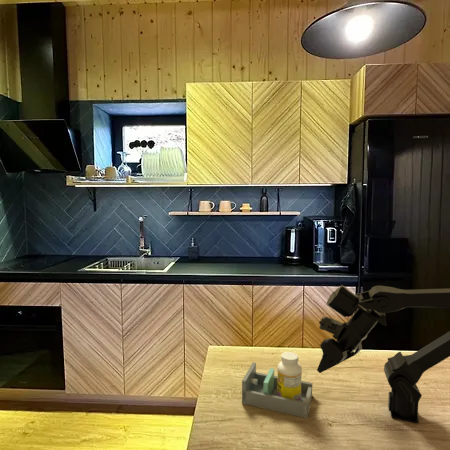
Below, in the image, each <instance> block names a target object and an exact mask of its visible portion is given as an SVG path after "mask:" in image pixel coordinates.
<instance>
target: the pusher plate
mask: <svg viewBox="0 0 450 450" xmlns="http://www.w3.org/2000/svg"><path fill="white" fill-rule="evenodd" d="M266 374H267V376H266V378H265V381H264V384H263V393H265V394H270V395H271V393H272V390H273V388H274V376H275V368H272V367H270V368H269V370H268V373H266Z"/></svg>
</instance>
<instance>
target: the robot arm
mask: <svg viewBox="0 0 450 450" xmlns="http://www.w3.org/2000/svg"><path fill="white" fill-rule="evenodd" d="M326 305H327V307H330V308H331V309H332V310H334V311H335V312H337V313H338V314H340V315H341V316H342V317H345V318H346V317H347V318H349V317H350V318H349V320H348V321H345V322H341V321H339V320H337V319H333V318H332V317H328V316H322V317H321V320H320V321H319V322H318V323H319V326H318V327H319V329H320V330H321V331H325V332H328V333H330V334H332V337H329V338H326V339H323V340H322V342H321V343H320V344H319V346H320V350H322V351H321V352H322V356H321V359H320V361H319V363H318V366H317V369H316V371H317V372H318V373H319V374H321V373H323V372H325V371H327V370H330V369H331V368H333V367H335V366H337V365H339V364H342V363H343V362H344V361H346V360H348V359H350V358H352V357H354V356H356V355H357V354H359V353H360V352H361V350H362V349H363V346H362V341H363V340H366V338H367V337H368V334H369V333H370V332H371V330H372V329H373V328H375V326H376V325H377V323H380V324H381V325H382V326H384V327H386V326H387V325H388V324H387V321H386V317H387V315H386V314H388V313H394V312H398V311H401V310H403V309H407V308H424V307H426V308H427V307H429V308H430V307H431V308H432V307H436V308H437V307H438V308H439V307H450V287H449V288H425V289H423V288H422V289H400V288H397V287H393V286H385V285H375V286H372V287H371V289H369V290H367V291H363V292H359V293H353V292H352V291H350V290H349V289H348V288H347V287H346V286H345V285H344V284H341V285H340V286H339V287H338V288H336V289H335V290H334V291H333V292H331V294H330V295H329V297H328V299H327V301H326ZM449 358H450V330H449V331H448V332H445V334H442V335H441V336H440V337H438V338H436V339H435V340H434V341H432V342H430V343H428V344H426V345H425V346H423V347H422V348H420V349H419V350H417V351H415V352H413V353H412V354H407V355H403V353H402V352H401V351H399V352H397V353H396V354H394V355H393V356H391V357H388V358H387V361H386V362H385V363H384V365H383V367H384V368H383V371H384V375H385V378H386V380H387V382H388V385H389V387H390V388H391V389H390V391H389V392H388V399H387V407H388V412H390V416H391V417H390V418H393V419H397V420H401V421H405V422H410V423H417V424H419V422H420V420H419V416H418V415H419V402H420V400H421V398H422V394H421V391H420V389H419V387H418V385H417V384H418V382H419V381H420V379H421V378H422V376H423V374H424V373H425V372H427V371H428V370H430V369H432V368H433V367H435V366H437V365H438V364H440V363H441V362H443V361H445V360H446V359H449Z"/></svg>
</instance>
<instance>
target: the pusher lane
mask: <svg viewBox="0 0 450 450" xmlns="http://www.w3.org/2000/svg"><path fill="white" fill-rule="evenodd" d="M267 374H268V373H261V372H257V363H256V362H252V363H251V365H250V367H249V368H248V370H247V372H246V373H245V375H244V377H243V378H242V379H241V404H244V405H246V406H250V407H251V406H252V407H254V408H255V407H256V408H260V409H264V410H268V411H269V410H270V411H274V412H277V413H281V414H282V413H283V414H288V415H291V416H295V417H300V418H304V419H305V418H306V419H308V416H309V411H310V407H311V401H312V396H313V382H310V381H304V380H301V400H300V401H299V400H294V399H289V398H284V397H280V396H277V382H278V375H274V388H273V390H272V393H271V395H270V394H265V393H263V384H264V381H265V378H266V376H267Z"/></svg>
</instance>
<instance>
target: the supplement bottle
mask: <svg viewBox="0 0 450 450" xmlns="http://www.w3.org/2000/svg"><path fill="white" fill-rule="evenodd" d="M280 359H281V360H280V362H279V363H278V364H277V376H278V382H277V396H280V397H284V398H289V399H294V400H299V401H300V400H301V381H302V374H303V373H302V372H303V370H302V369H303V368H302V365H301V364H300V363H299V355H298V354H297V353H295V352H291V351H285V352H282V353H281V356H280Z"/></svg>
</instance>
